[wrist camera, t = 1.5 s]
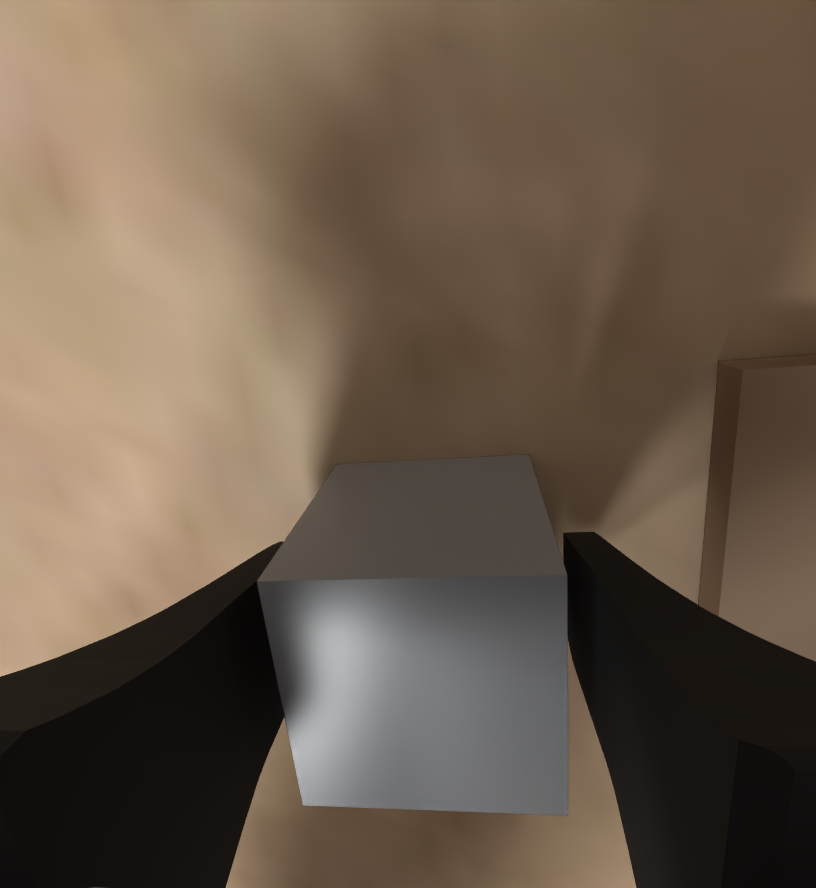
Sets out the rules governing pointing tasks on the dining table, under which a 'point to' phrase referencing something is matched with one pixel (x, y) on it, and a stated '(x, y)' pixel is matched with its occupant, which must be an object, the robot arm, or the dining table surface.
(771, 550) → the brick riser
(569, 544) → the robot arm
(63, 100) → the dining table surface
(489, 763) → the gray brick
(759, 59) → the dining table surface
